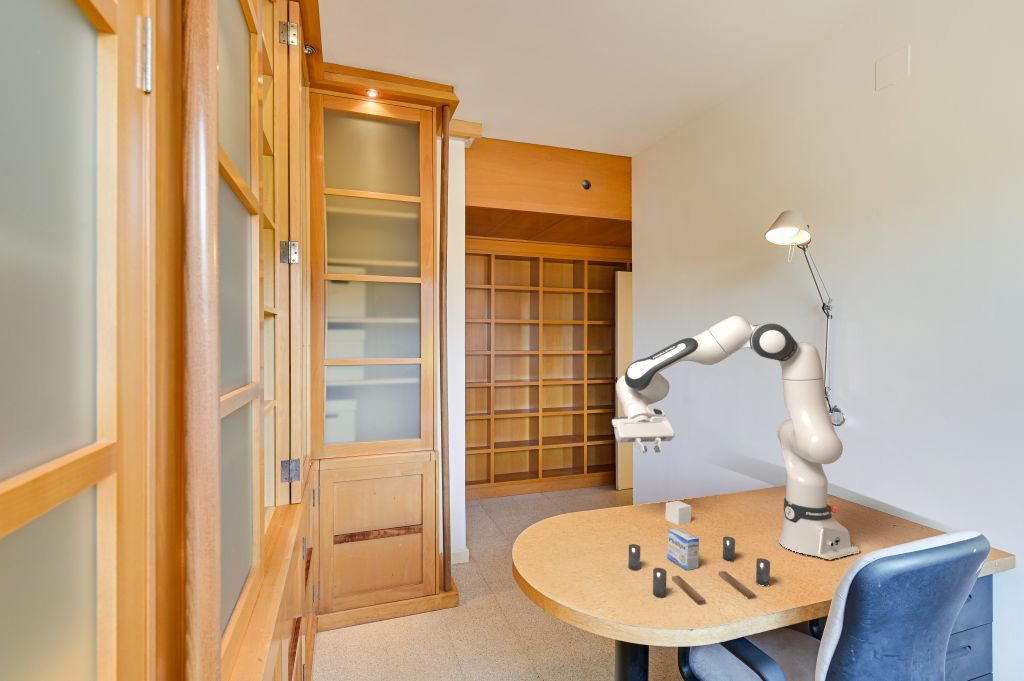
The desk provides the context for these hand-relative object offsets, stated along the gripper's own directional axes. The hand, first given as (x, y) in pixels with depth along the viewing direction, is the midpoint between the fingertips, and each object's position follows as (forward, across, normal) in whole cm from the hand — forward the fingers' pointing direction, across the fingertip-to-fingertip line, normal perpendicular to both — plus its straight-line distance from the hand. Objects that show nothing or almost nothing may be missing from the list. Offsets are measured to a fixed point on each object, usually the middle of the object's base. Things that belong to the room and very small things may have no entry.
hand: (651, 451), depth 158 cm
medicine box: (+33, 0, +6) cm, 34 cm away
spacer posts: (+38, 0, +1) cm, 38 cm away
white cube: (+13, +16, +26) cm, 33 cm away
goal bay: (+43, 0, -4) cm, 43 cm away
